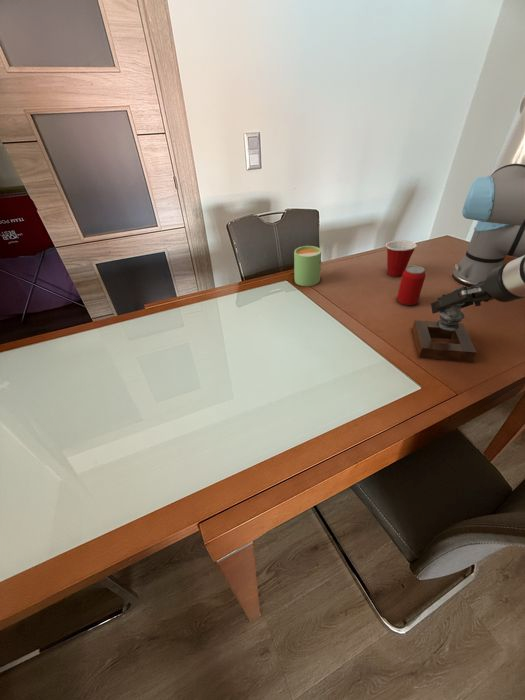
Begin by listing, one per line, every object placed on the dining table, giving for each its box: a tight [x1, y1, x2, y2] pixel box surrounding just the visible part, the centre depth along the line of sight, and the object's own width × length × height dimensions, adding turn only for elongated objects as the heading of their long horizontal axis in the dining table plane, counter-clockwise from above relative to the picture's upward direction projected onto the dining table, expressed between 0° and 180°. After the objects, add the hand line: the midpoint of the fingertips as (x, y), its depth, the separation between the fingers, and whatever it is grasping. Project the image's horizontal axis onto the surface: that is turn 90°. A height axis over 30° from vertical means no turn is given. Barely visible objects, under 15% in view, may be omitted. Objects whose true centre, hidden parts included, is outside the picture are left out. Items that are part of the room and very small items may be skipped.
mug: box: [293, 245, 323, 287], centre depth 118 cm, size 13×10×12 cm
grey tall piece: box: [436, 284, 466, 331], centre depth 78 cm, size 6×6×12 cm
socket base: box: [411, 319, 477, 363], centre depth 85 cm, size 13×13×4 cm
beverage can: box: [396, 264, 426, 306], centre depth 100 cm, size 7×7×12 cm
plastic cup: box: [385, 239, 418, 278], centre depth 116 cm, size 11×11×12 cm
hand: (443, 306), depth 82 cm, fingers closed on grey tall piece, 5 cm apart
